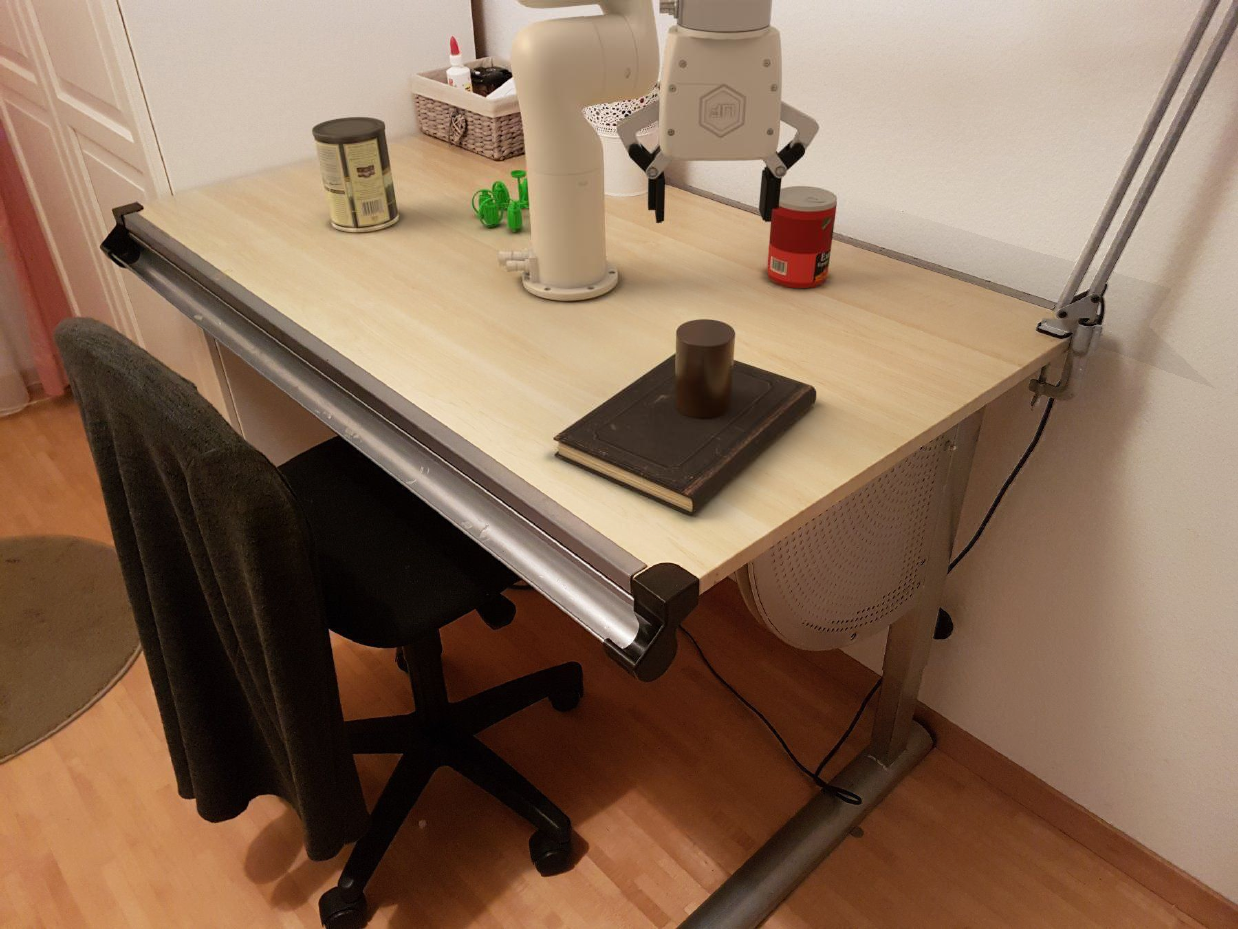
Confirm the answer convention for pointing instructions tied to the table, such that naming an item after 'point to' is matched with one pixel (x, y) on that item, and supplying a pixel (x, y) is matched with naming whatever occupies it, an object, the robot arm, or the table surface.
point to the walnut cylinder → (704, 368)
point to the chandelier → (503, 203)
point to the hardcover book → (682, 434)
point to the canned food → (801, 236)
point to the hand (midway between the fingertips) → (712, 216)
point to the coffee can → (356, 173)
